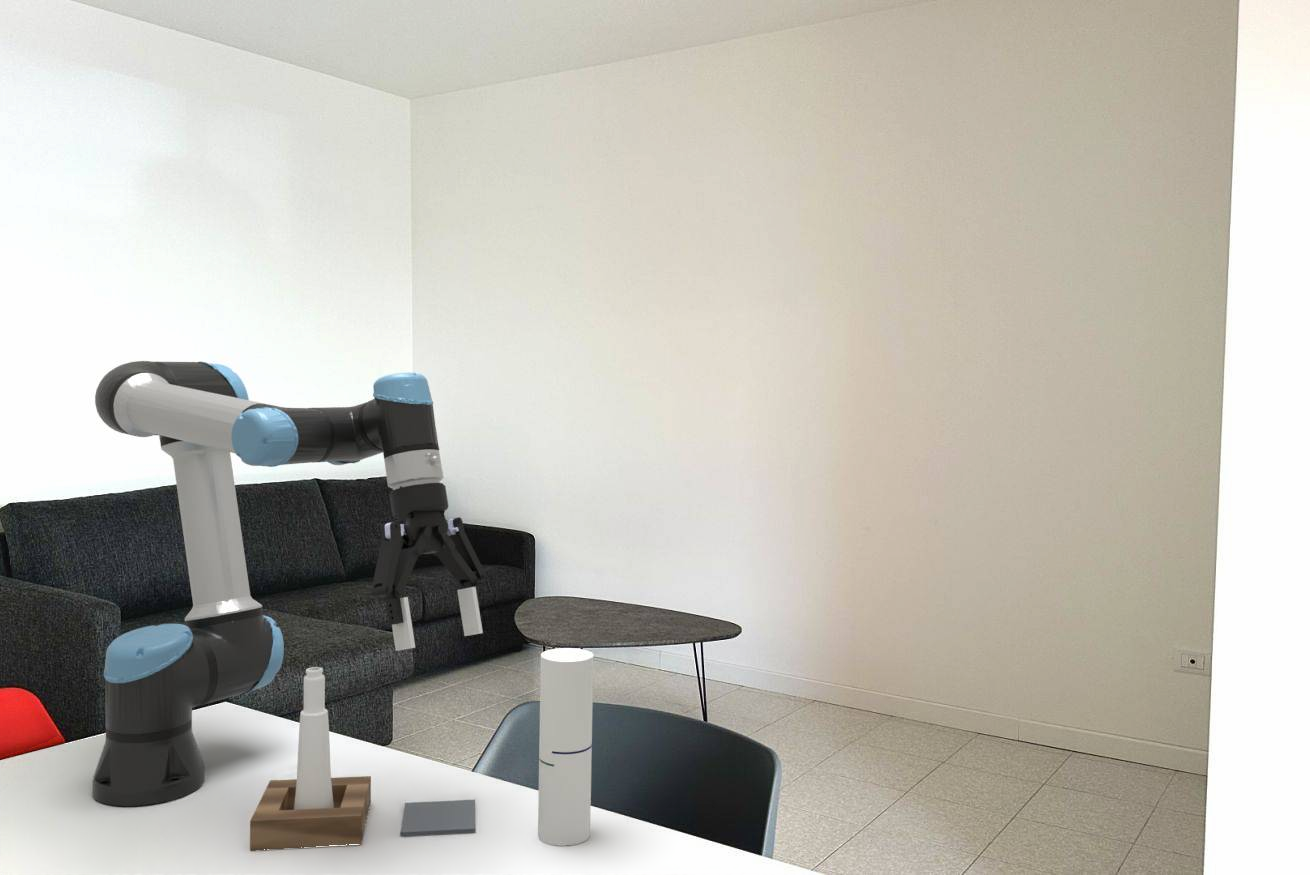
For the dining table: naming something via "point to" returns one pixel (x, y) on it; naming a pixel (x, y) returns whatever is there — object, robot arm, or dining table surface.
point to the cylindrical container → (565, 746)
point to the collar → (310, 816)
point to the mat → (438, 818)
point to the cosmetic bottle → (314, 747)
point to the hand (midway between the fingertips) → (441, 642)
